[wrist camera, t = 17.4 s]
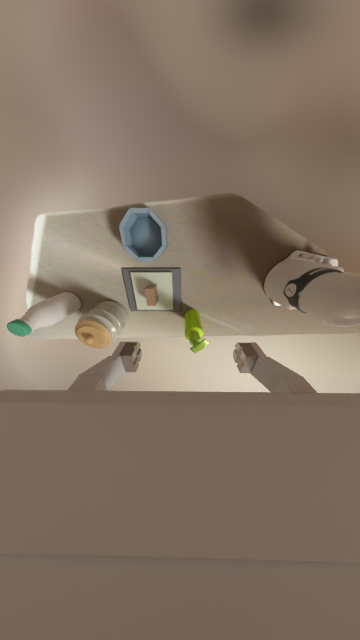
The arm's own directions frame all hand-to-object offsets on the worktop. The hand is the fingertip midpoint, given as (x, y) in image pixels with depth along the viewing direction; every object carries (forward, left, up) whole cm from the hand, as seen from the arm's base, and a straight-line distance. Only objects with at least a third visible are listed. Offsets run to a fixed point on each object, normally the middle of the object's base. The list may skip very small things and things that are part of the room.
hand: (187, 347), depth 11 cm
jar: (+29, +18, -39) cm, 52 cm away
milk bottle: (+44, +12, -39) cm, 60 cm away
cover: (+11, +8, -38) cm, 41 cm away
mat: (+11, +8, -39) cm, 41 cm away
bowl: (+11, -9, -39) cm, 42 cm away
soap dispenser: (-4, +18, -39) cm, 43 cm away
